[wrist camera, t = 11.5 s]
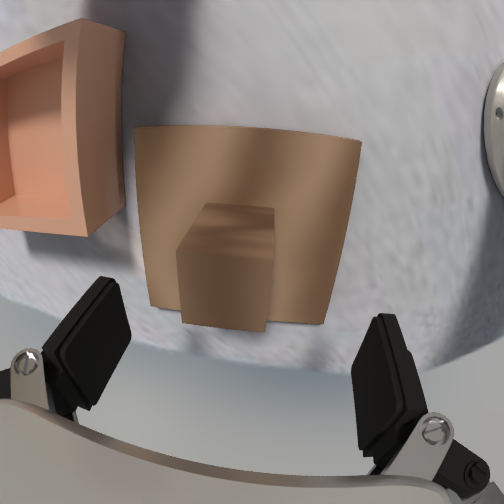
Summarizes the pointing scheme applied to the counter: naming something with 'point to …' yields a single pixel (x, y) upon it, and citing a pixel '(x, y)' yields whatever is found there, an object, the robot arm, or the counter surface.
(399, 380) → the robot arm
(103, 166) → the dish
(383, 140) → the counter surface
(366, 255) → the counter surface
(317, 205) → the lid
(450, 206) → the counter surface
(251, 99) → the counter surface
